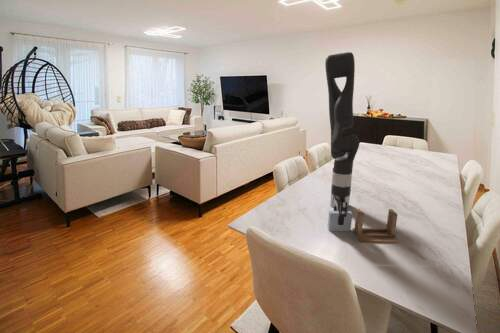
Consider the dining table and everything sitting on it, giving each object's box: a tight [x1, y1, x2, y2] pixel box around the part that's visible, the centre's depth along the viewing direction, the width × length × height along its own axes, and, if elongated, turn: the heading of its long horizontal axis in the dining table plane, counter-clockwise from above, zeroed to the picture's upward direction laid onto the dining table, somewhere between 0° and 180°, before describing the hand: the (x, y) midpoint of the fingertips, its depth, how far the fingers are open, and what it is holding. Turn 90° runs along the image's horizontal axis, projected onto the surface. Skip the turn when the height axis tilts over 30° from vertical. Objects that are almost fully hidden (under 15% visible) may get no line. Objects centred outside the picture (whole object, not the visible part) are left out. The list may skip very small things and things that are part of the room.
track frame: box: [351, 208, 399, 244], centre depth 116 cm, size 10×14×11 cm
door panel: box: [327, 210, 353, 232], centre depth 122 cm, size 2×9×8 cm, turn 87°
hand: (338, 220), depth 122 cm, fingers open, 8 cm apart
